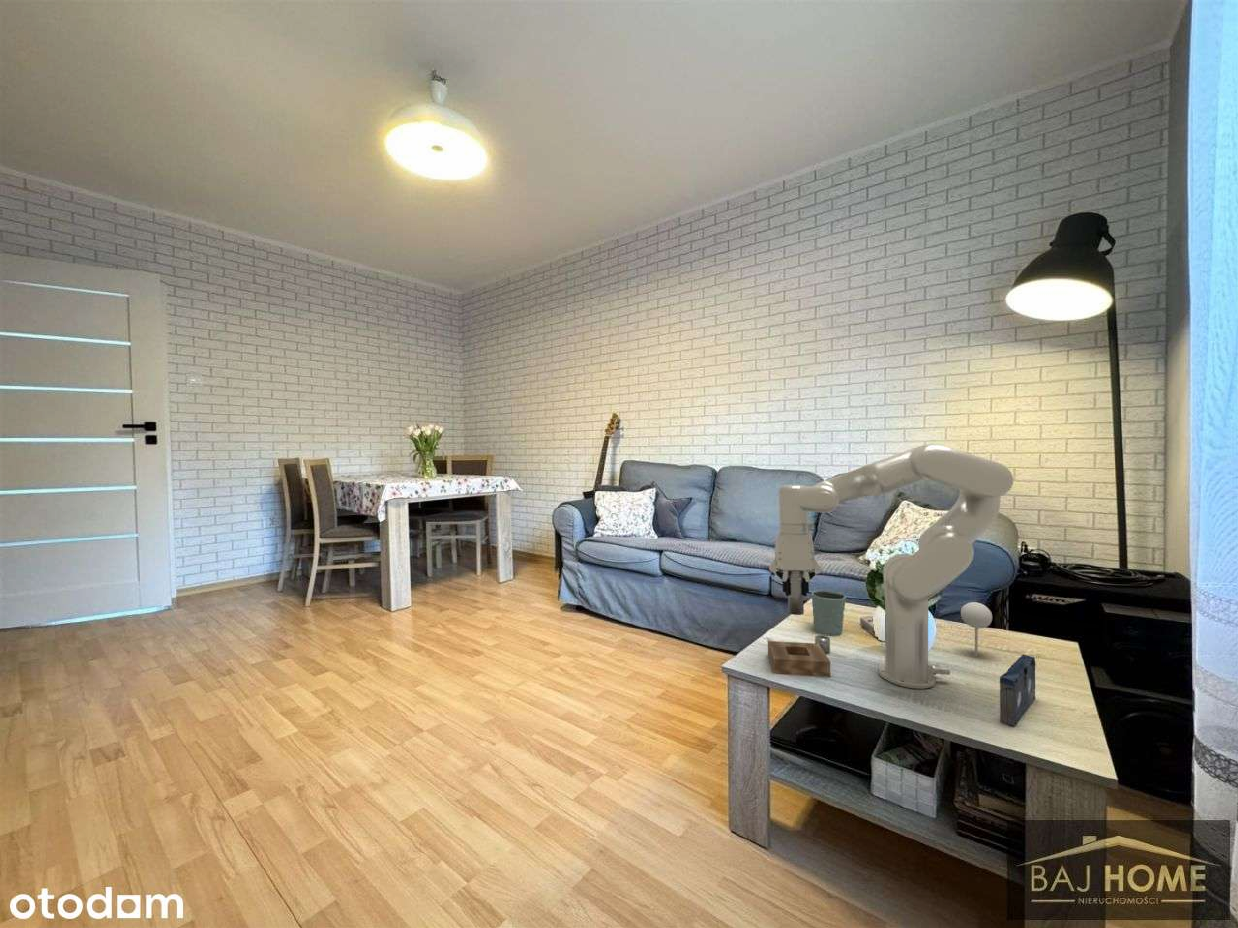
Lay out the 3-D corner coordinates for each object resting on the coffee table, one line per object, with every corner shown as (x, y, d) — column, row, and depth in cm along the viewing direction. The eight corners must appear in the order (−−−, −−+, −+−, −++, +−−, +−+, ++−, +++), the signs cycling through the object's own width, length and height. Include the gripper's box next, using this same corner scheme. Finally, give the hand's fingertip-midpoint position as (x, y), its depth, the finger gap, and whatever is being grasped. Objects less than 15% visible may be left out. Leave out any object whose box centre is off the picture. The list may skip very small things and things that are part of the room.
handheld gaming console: (885, 614, 160) (911, 631, 145) (885, 625, 160) (911, 643, 145) (858, 614, 160) (881, 631, 145) (858, 625, 160) (881, 642, 145)
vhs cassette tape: (1022, 695, 113) (1022, 653, 113) (1038, 700, 110) (1038, 657, 110) (996, 722, 102) (996, 676, 102) (1014, 728, 99) (1014, 681, 99)
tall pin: (802, 610, 133) (801, 568, 133) (804, 615, 129) (803, 571, 129) (787, 610, 134) (786, 567, 134) (789, 614, 130) (788, 571, 130)
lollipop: (998, 658, 133) (998, 604, 132) (981, 662, 130) (981, 608, 130) (971, 648, 139) (971, 597, 139) (954, 652, 137) (955, 600, 136)
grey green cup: (805, 626, 158) (805, 590, 158) (832, 624, 160) (832, 588, 160) (824, 638, 148) (823, 600, 148) (852, 635, 150) (852, 597, 150)
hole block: (819, 657, 135) (818, 643, 134) (830, 677, 123) (830, 662, 123) (767, 654, 137) (767, 641, 137) (774, 673, 125) (774, 658, 125)
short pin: (827, 649, 140) (827, 635, 140) (831, 654, 136) (831, 641, 136) (813, 648, 141) (813, 635, 141) (816, 654, 137) (816, 640, 137)
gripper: (823, 527, 133) (824, 592, 134) (761, 527, 137) (763, 590, 137) (829, 531, 126) (831, 600, 126) (763, 531, 129) (765, 598, 130)
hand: (795, 594), depth 132 cm, fingers closed on tall pin, 4 cm apart
